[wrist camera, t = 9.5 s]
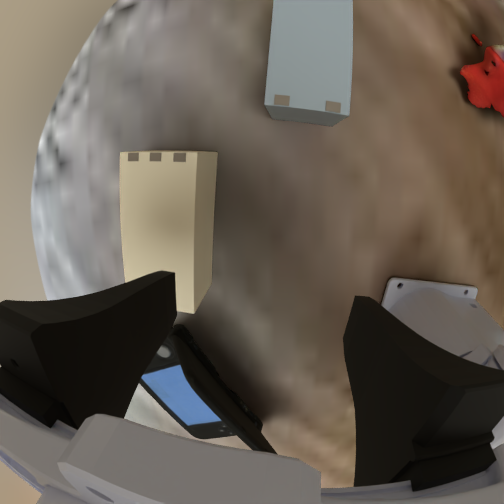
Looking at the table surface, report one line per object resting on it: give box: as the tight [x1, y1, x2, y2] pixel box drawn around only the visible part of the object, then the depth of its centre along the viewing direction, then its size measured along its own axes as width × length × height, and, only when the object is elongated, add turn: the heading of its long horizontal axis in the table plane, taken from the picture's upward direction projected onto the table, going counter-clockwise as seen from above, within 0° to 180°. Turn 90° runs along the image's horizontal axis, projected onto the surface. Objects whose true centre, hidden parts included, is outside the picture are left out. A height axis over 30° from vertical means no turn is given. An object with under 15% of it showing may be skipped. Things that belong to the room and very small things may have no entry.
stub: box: [264, 0, 353, 127], centre depth 13 cm, size 4×8×6 cm, turn 175°
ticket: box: [120, 150, 218, 314], centre depth 19 cm, size 5×10×5 cm, turn 176°
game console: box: [139, 325, 278, 455], centre depth 23 cm, size 16×14×9 cm
